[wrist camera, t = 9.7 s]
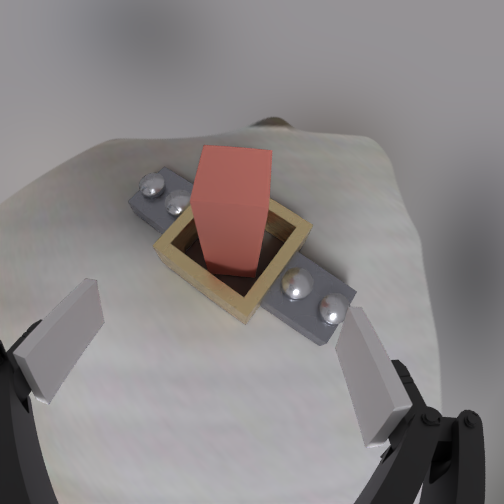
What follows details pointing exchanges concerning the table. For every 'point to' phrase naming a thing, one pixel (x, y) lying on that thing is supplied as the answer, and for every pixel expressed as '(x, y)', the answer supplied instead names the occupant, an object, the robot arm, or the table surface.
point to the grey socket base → (271, 280)
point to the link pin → (231, 207)
